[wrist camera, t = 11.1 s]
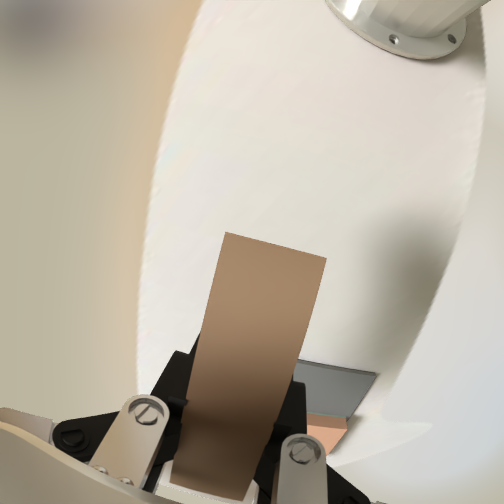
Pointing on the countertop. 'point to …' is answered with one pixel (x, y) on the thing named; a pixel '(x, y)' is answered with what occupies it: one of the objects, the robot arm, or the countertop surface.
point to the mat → (332, 387)
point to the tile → (326, 429)
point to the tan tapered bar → (242, 366)
